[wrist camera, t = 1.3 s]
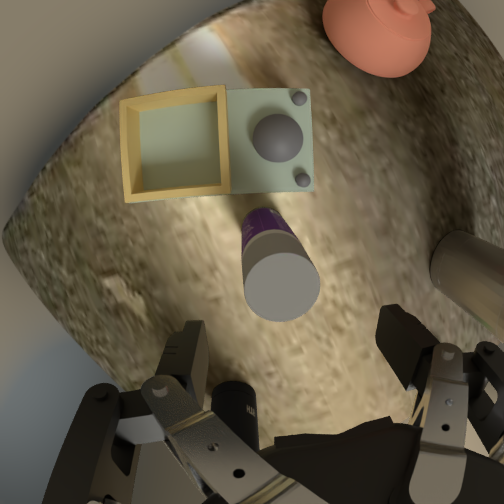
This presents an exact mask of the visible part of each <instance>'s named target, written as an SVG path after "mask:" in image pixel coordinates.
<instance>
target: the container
mask: <svg viewBox="0 0 504 504" xmlns="http://www.w3.org/2000/svg"><path fill="white" fill-rule="evenodd" d="M242 272H243V285H244V295H245V299H246V302H247V304H248V305H249V307H250V308H251V310H252V311H253V312H254V313H256V314H257V315H258V316H260V317H262V318H264V319H266V320H269V321H275V322H284V321H290V320H293V319H296V318H298V317H300V316H302V315H303V314H305V313H306V312H307V311H308V310H309V309H310V308H311V307H312V306H313V305H314V303H315V302H316V300H317V297H318V295H319V291H320V278H319V275H318V272H317V270H316V268H315V266H314V265H313V263H312V261H311V260H310V258H309V256H308V255H307V253H306V251H305V249H304V248H303V246H302V244H301V243H300V241H299V240H298V238H297V237H296V236H295V234H294V233H293V231H292V230H291V229H290V227H289V226H288V224H287V223H286V222H285V220H284V219H283V218H282V216H281V215H280V214H279V213H278V212H277V211H275V210H273V209H271V208H266V207H262V208H257V209H254V210H253V211H251V212H250V213H249V214H248V215H247V216H246V217H245V219H244V221H243V224H242Z"/></svg>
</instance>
